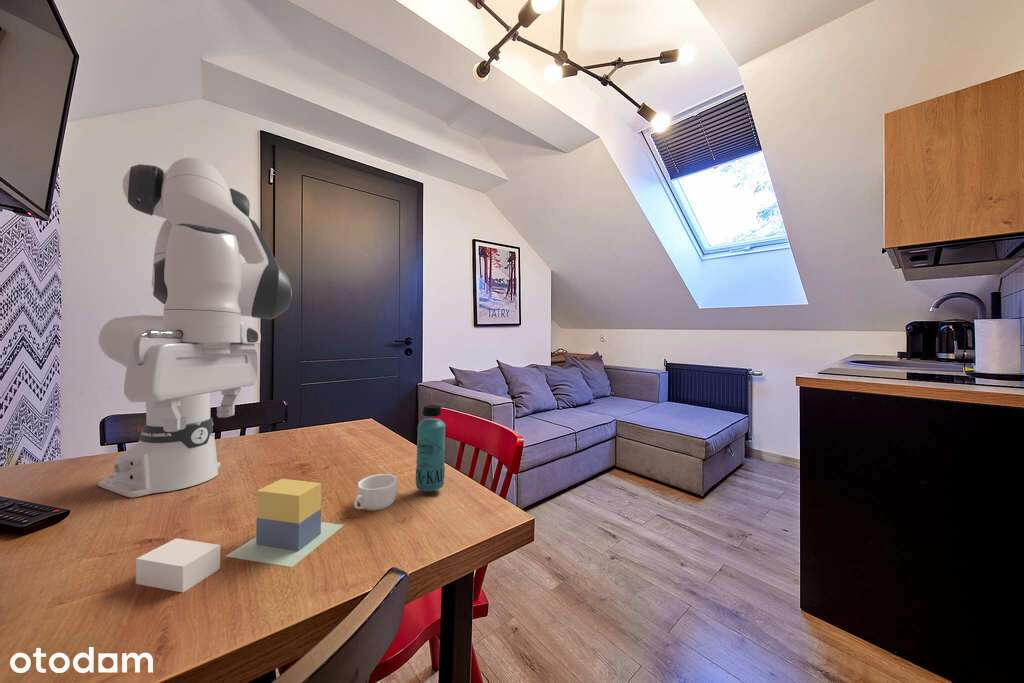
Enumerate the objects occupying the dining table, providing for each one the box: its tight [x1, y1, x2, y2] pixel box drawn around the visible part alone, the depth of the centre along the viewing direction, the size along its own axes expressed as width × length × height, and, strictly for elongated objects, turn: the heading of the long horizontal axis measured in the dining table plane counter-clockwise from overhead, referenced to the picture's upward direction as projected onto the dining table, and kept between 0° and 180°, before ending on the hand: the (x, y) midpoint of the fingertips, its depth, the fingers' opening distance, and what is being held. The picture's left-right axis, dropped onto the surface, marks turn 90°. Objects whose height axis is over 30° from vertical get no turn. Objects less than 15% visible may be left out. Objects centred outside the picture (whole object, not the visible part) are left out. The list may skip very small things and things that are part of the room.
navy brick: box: [255, 508, 322, 551], centre depth 60 cm, size 8×5×4 cm, turn 80°
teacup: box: [353, 473, 398, 511], centre depth 72 cm, size 10×8×5 cm
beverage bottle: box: [415, 404, 446, 492], centre depth 81 cm, size 6×7×20 cm
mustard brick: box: [256, 478, 322, 524], centre depth 60 cm, size 8×5×4 cm, turn 80°
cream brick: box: [135, 537, 221, 593], centre depth 50 cm, size 8×5×4 cm, turn 80°
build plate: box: [225, 521, 345, 568], centre depth 60 cm, size 12×12×1 cm
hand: (202, 423), depth 53 cm, fingers open, 8 cm apart
